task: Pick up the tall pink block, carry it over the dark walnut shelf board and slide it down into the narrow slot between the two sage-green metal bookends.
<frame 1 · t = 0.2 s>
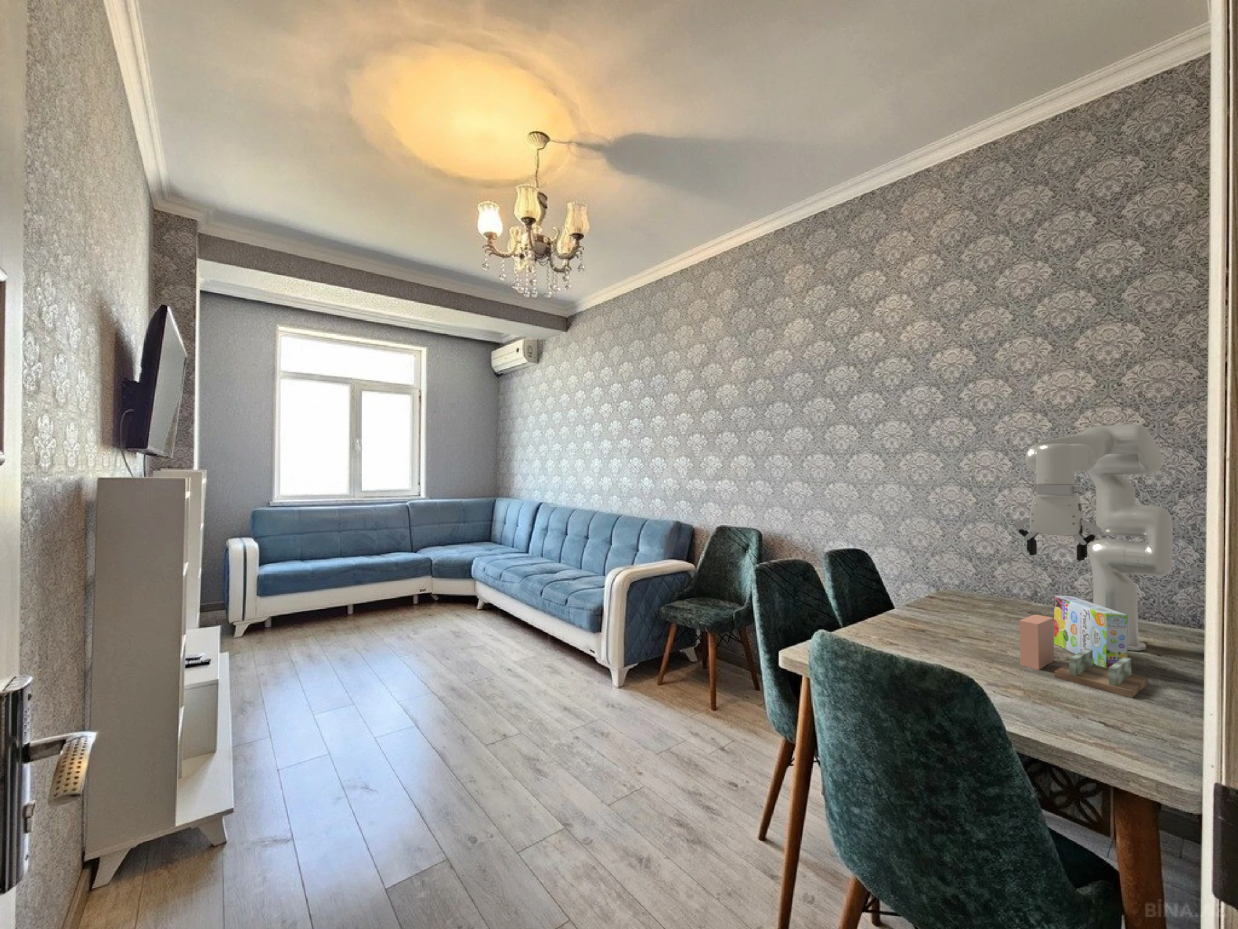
hand: (1056, 557, 128), 30 cm above the table, tool pointing down, fingers open, 9 cm apart
snack box: (1088, 657, 140), on the table
tall pink block: (1037, 663, 136), on the table
shelf board: (1100, 680, 124), on the table
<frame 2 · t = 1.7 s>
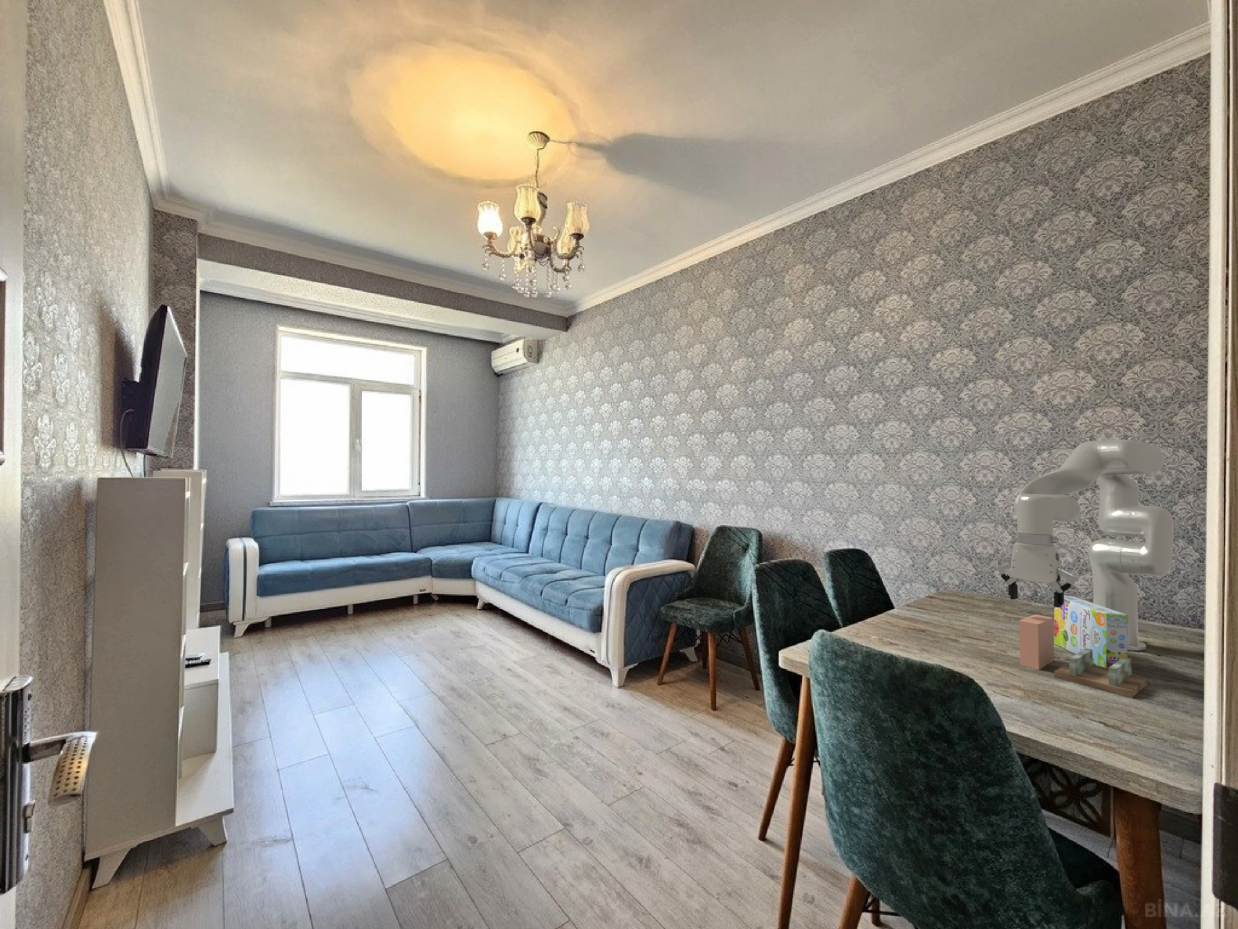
hand: (1035, 602, 136), 16 cm above the table, tool pointing down, fingers open, 9 cm apart
nothing on the table moved.
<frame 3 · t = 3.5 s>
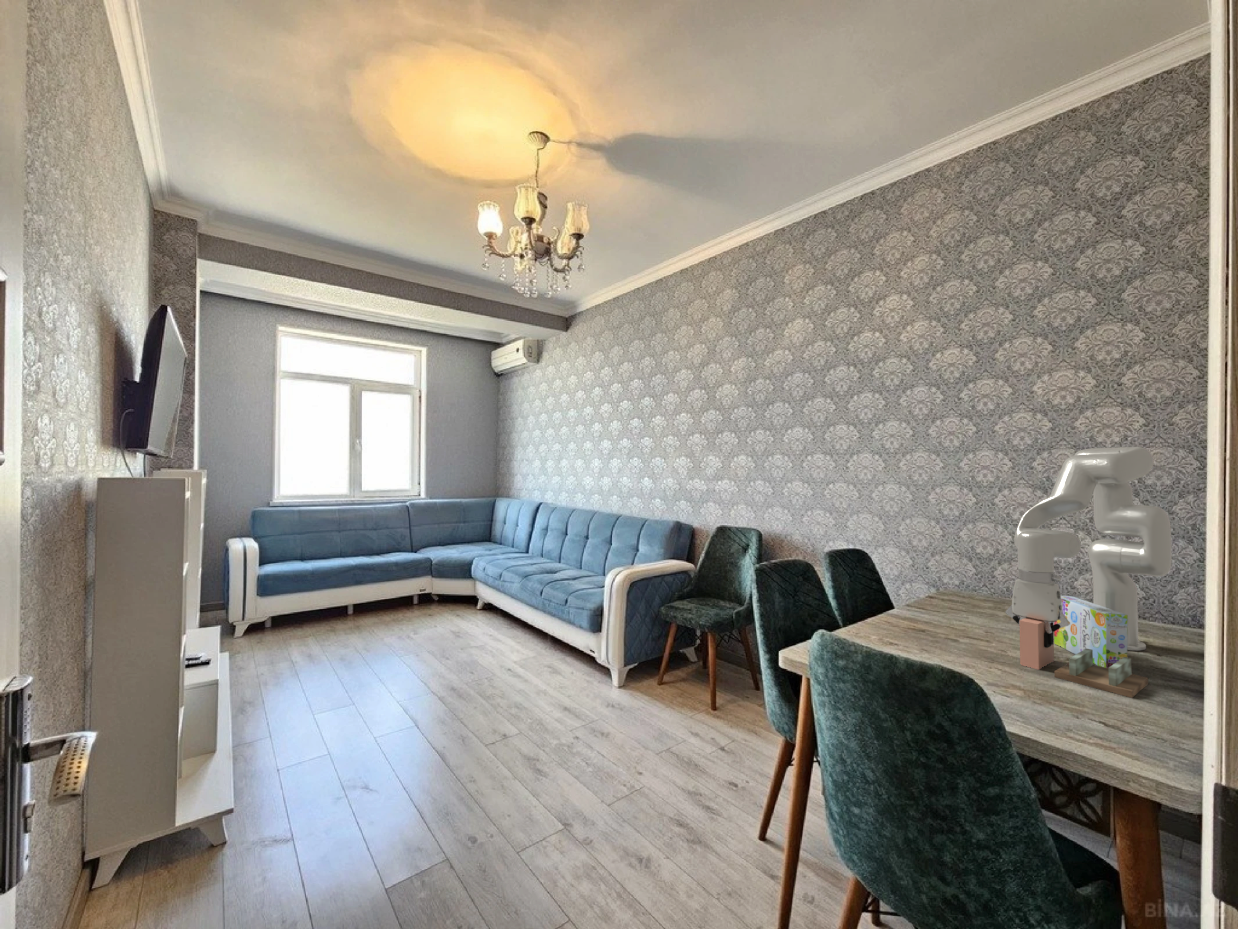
hand: (1036, 643, 136), 5 cm above the table, tool pointing down, fingers closed on tall pink block, 4 cm apart
tall pink block: (1037, 663, 136), on the table, touching gripper
everything else where it was.
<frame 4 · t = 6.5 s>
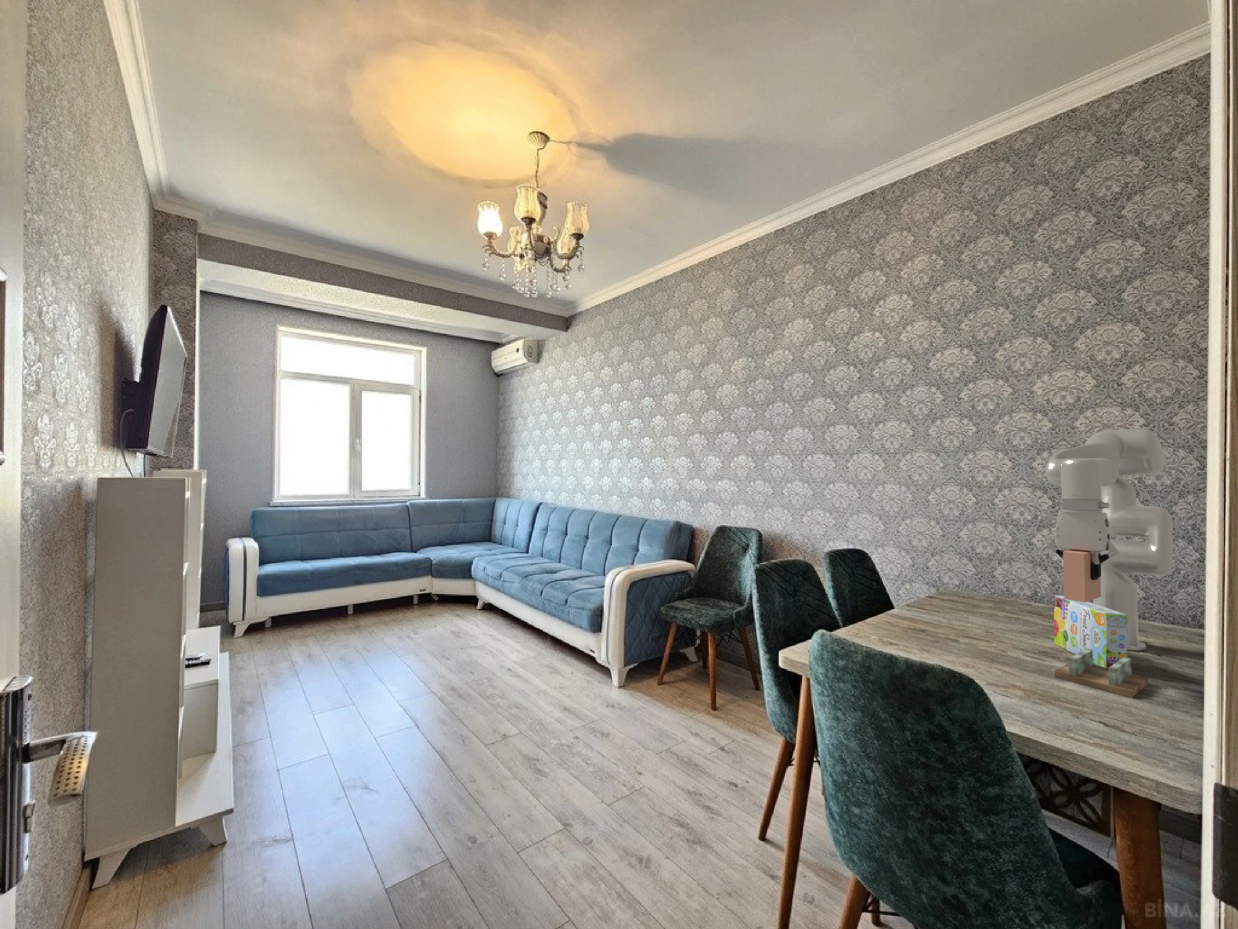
hand: (1082, 577, 127), 25 cm above the table, tool pointing down, fingers closed on tall pink block, 4 cm apart
tall pink block: (1082, 597, 127), point 20 cm above the table, touching gripper
everything else where it was.
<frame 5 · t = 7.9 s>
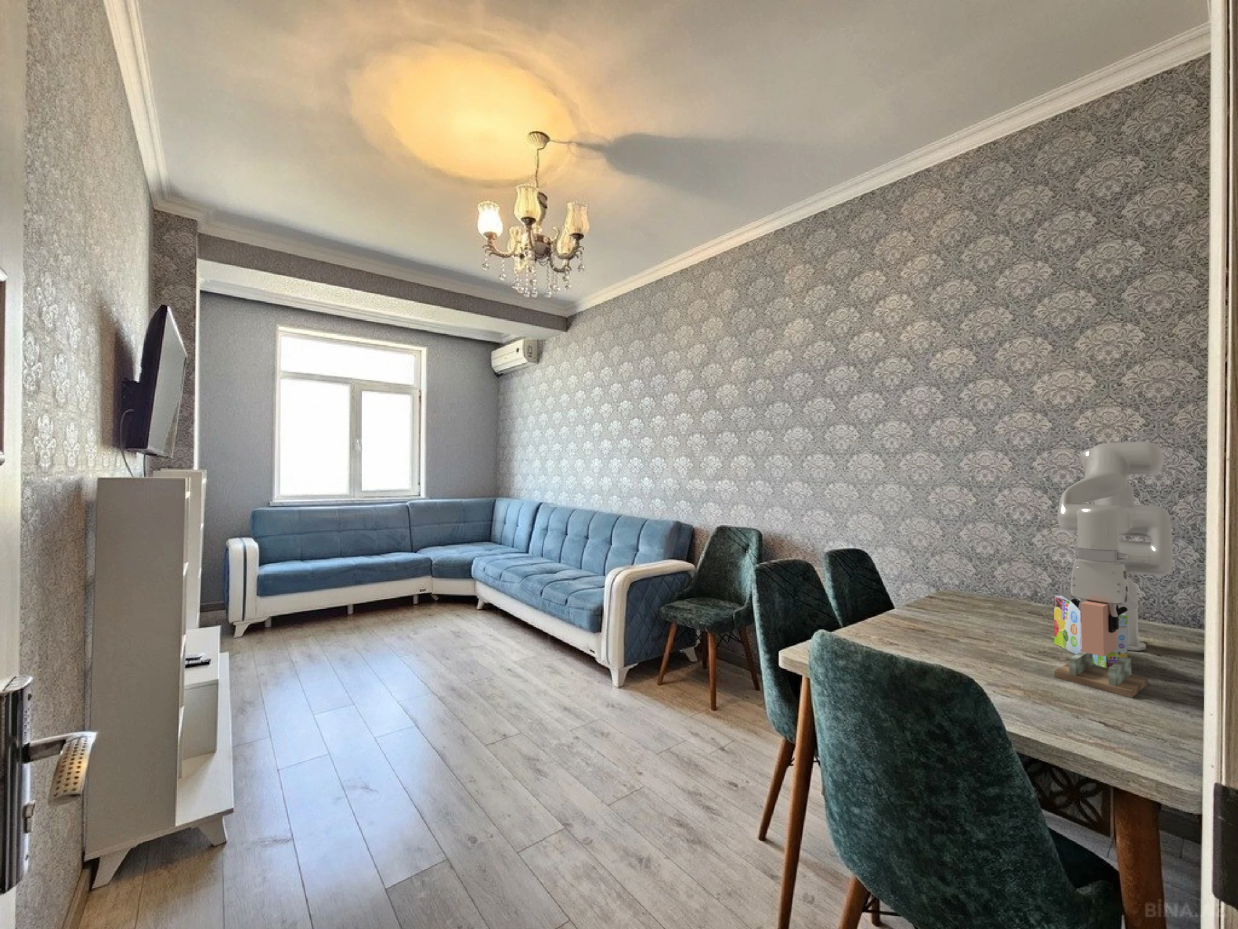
hand: (1099, 628, 124), 13 cm above the table, tool pointing down, fingers closed on tall pink block, 4 cm apart
tall pink block: (1099, 650, 124), point 8 cm above the table, touching gripper
everything else where it was.
when the fingers open (8 cm above the table, at t = 9.4 s): tall pink block stays where it is, resting on shelf board.
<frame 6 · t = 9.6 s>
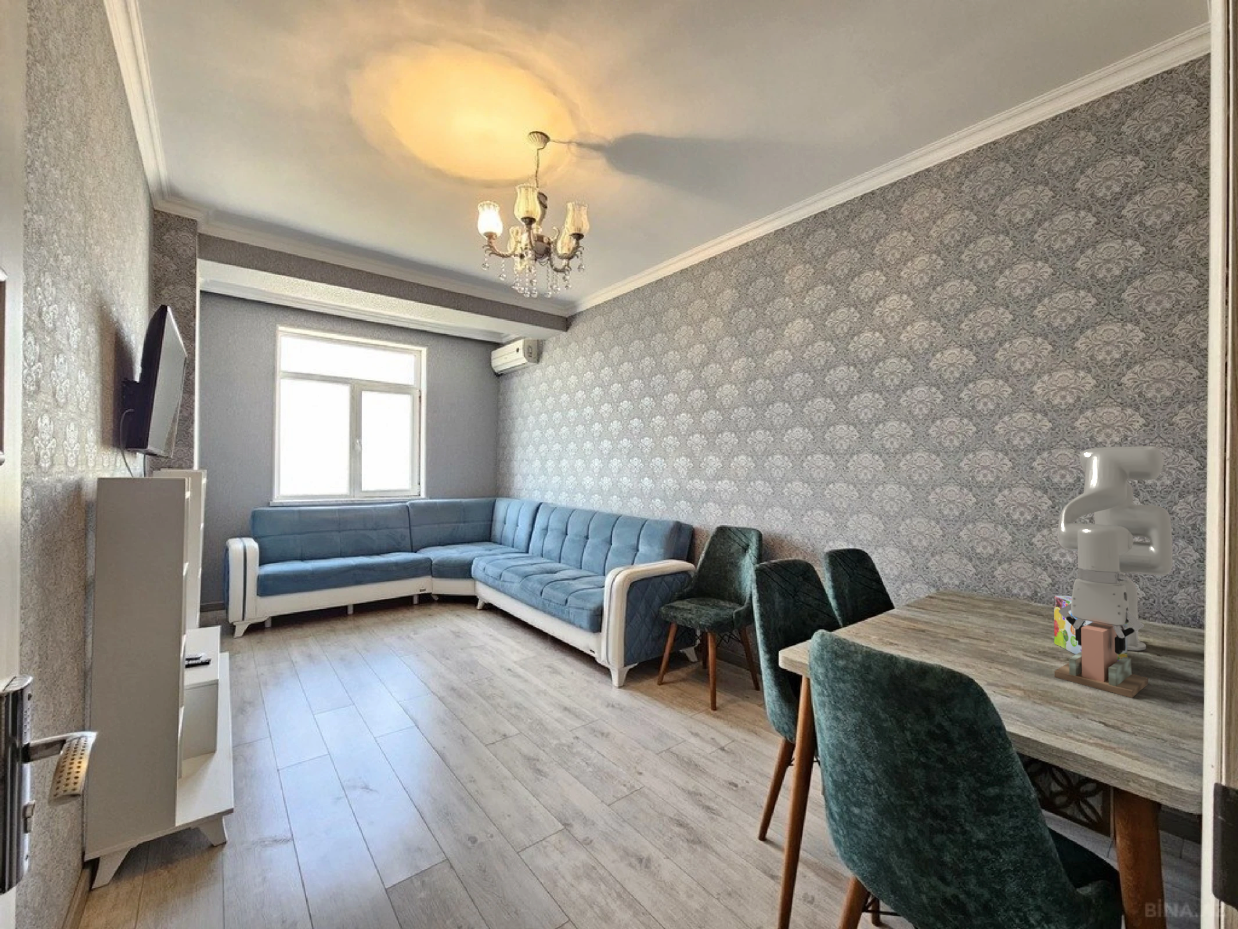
hand: (1099, 647, 124), 8 cm above the table, tool pointing down, fingers open, 6 cm apart
tall pink block: (1100, 674, 124), point 1 cm above the table, touching shelf board
everything else where it was.
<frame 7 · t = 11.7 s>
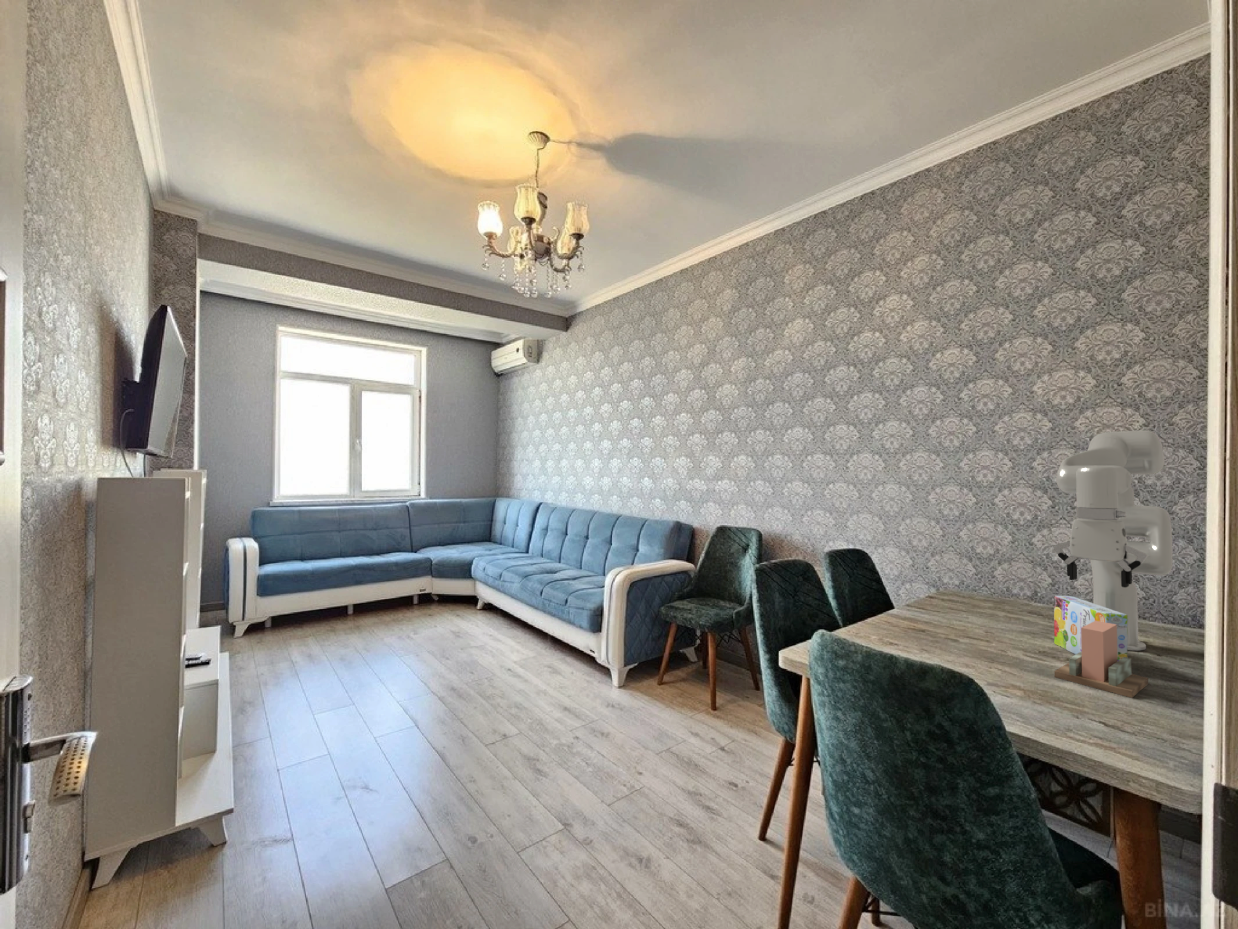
hand: (1098, 583, 125), 24 cm above the table, tool pointing down, fingers open, 9 cm apart
nothing on the table moved.
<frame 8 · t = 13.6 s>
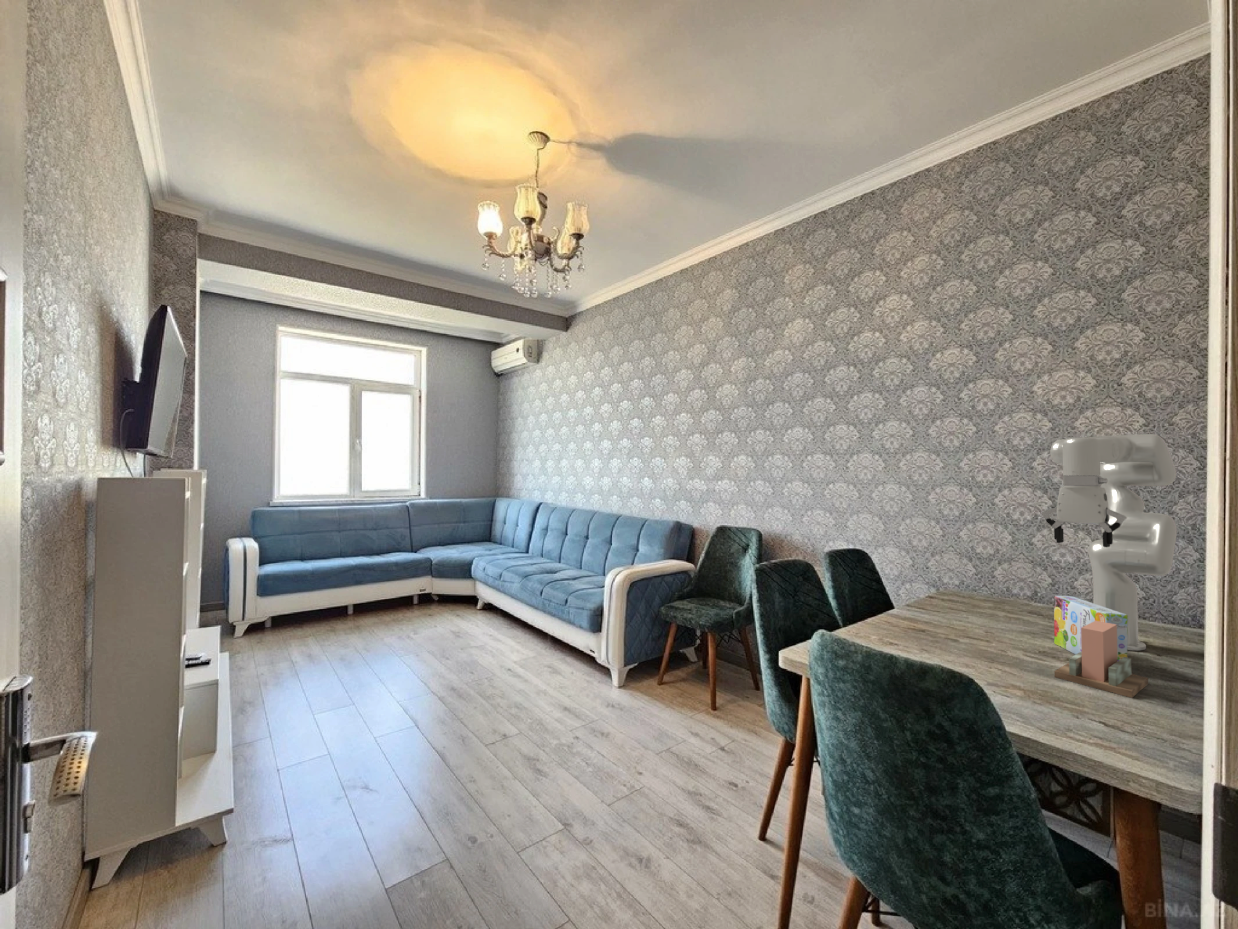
hand: (1082, 544, 136), 32 cm above the table, tool pointing down, fingers open, 9 cm apart
nothing on the table moved.
at the end: tall pink block 0.1 cm off-centre on the shelf board, point 1.5 cm above the shelf board's base; tall pink block tilted 0°; the gripper is holding nothing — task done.
